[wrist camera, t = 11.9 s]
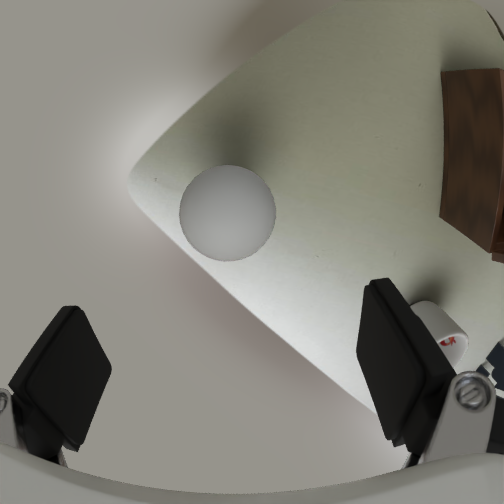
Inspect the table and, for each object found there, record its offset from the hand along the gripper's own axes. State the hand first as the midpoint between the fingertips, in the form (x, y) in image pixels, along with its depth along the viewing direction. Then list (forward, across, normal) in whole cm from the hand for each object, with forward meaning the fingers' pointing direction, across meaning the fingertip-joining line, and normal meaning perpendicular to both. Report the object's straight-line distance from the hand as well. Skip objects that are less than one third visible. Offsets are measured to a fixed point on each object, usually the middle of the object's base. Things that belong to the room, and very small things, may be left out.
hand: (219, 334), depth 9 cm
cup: (+19, -21, +20) cm, 34 cm away
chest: (+19, -28, -3) cm, 34 cm away
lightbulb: (+19, 0, 0) cm, 19 cm away
